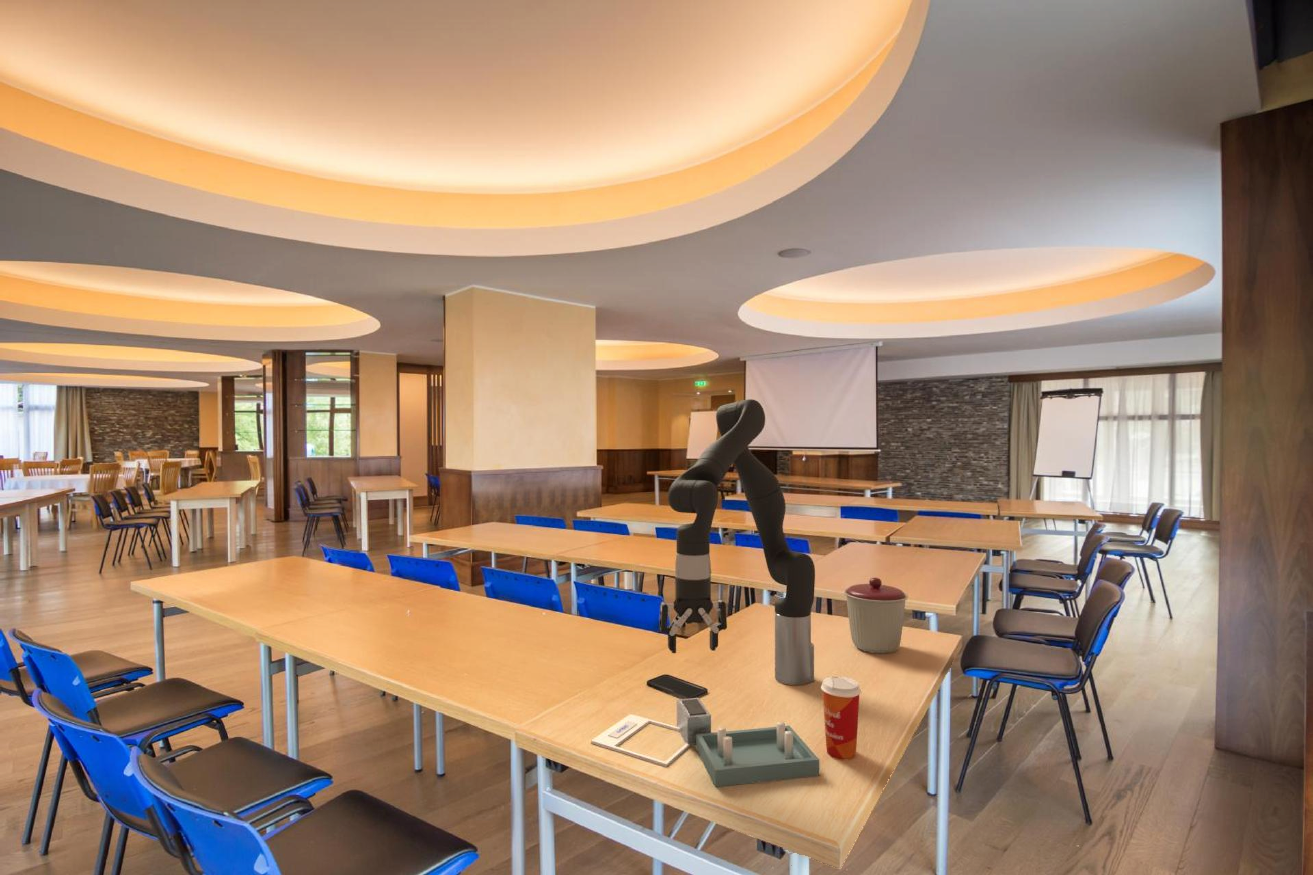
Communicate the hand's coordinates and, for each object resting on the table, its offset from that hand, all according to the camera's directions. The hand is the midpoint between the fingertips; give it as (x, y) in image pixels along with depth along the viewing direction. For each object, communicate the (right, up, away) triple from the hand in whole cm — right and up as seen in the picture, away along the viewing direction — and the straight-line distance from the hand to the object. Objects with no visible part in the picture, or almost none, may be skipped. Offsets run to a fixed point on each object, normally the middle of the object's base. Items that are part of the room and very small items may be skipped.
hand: (692, 650), depth 132 cm
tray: (+11, -18, -11) cm, 24 cm away
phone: (-3, -18, +25) cm, 31 cm away
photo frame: (-10, -18, -2) cm, 21 cm away
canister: (+58, -18, +55) cm, 82 cm away
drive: (0, -18, 0) cm, 18 cm away
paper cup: (+29, -18, -8) cm, 35 cm away
